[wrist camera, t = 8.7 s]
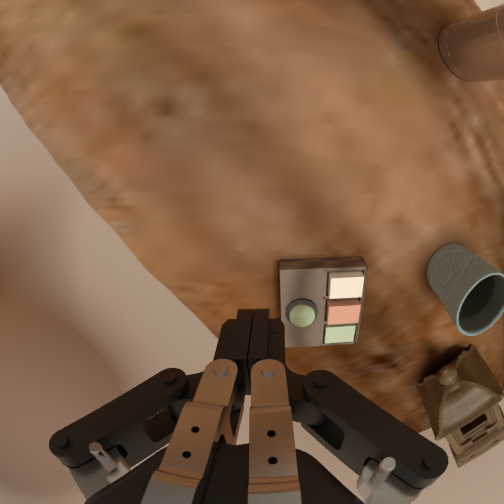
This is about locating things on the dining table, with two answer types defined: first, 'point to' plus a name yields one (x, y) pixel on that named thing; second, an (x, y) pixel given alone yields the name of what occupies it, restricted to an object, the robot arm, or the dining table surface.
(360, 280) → the cream key
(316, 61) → the dining table surface
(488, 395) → the brown lantern
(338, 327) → the sage key
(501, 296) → the grey-green tumbler
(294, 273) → the key console
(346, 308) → the terracotta key
